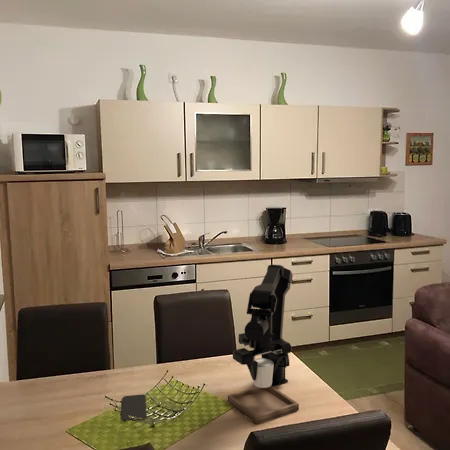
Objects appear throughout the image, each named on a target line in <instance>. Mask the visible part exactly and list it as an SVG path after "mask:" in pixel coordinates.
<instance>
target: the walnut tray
mask: <svg viewBox="0 0 450 450" xmlns="http://www.w3.org/2000/svg"><path fill="white" fill-rule="evenodd" d="M227 403H229V404H230V405H231V406H232V407H233V408H235V409H236V410H237V411H238V412H240V413H241V414H242V415H244V416H245V417H246V418H247V419H249V420H250V421H251V422H252V423H254V424H255V425H258V424H260V423H263V422H268V421H270V420H273V419H276V418H279V417H281V416H282V417H283V416H285V415H288V414H290V413H293V412H297V411H300V409H299V408H300V407H299V406H300V404H299V402H297V401H295V400H294V399H292V398H291V397H290V396H288V395H286V394H285V393H283V392H281V391H280V390H278V389H277V388H275V386H273V385H271V386H270V387H267V388H260V387H257V386H255V387H253V388H250V389H247V390H243V391H238V392H236V393H233V394H229V395H227Z"/></svg>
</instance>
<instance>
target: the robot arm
mask: <svg viewBox="0 0 450 450" xmlns="http://www.w3.org/2000/svg"><path fill="white" fill-rule="evenodd" d="M266 270H267V271H266V274H265V275H264V277H263V279H262V281H261V282H260V284H259V285H258V284H257V285H256V286H255V287H254V288H253V289H252V290H251V292H250V293H249V297H248V303H247V308H246V315H251V317H250V320H249V321H248V322H247V323H246V325H245V326H244V330H243V331H244V332H243V333H242V332H241V333H238V340H237V341H238V343H239V344H240V345H243V346H244V347H242V348H238V349H235V350H234V351H233V352H232V359H233V360H234V361H236V362H237V363H239V364H241V365H242V366H244V365H245V366H247V369H248V370H249V375H250V377H251V380H253V382H254V381H255V380H256V374H257V366H258V362H256V361H255V359H256V357H257V356H261V358H265V359H270V360H272V361H273V362H274V367H273V377H272V385H271V386H272V387H275V386H278V385H281V384H285V383H288V382H289V380H288V379H287V378H286V369H287V367H289V366H290V357H289V354H291V353H292V345H291V343H290V342H288V341H286V340H284V338H283V327H284V318H285V317H284V314H285V303H286V302H285V299H286V294H287V293H288V292H289V290H290V289H291V285H292V283H293V278H294V277H293V276H294V275H293V273H292V271H291V270H290V269H288V268H286V267H284V265H282V264H268V266H267V269H266ZM246 346H249V348H251V350H248V349H247V348H246ZM252 349H253V350H252Z"/></svg>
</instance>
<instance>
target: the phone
mask: <svg viewBox="0 0 450 450" xmlns="http://www.w3.org/2000/svg"><path fill="white" fill-rule="evenodd" d="M128 415H129V416H130V415H131V416H134V417H135V416H136V417H138V418H140V417H141V418H145V419H146V418H147V400H146V395H145V394H134V395H133V394H132V395H124V396H123V397H122V404H121V421H122V420H123V422H127V421H126V420H132V421H134V420H133V419H134V418H133V419H132V418H131V419H130V418H129V417H128Z"/></svg>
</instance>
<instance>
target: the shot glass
mask: <svg viewBox="0 0 450 450" xmlns="http://www.w3.org/2000/svg"><path fill="white" fill-rule="evenodd" d="M255 361H256V362H258V366H257V374H256V380H255V381H254V380H253V386H255V387H260V388H267V387H270V386H273V385H272V377H273V367H274V362H273V361H272V360H270V359H265V358H262V357H260V358H255Z"/></svg>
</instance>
